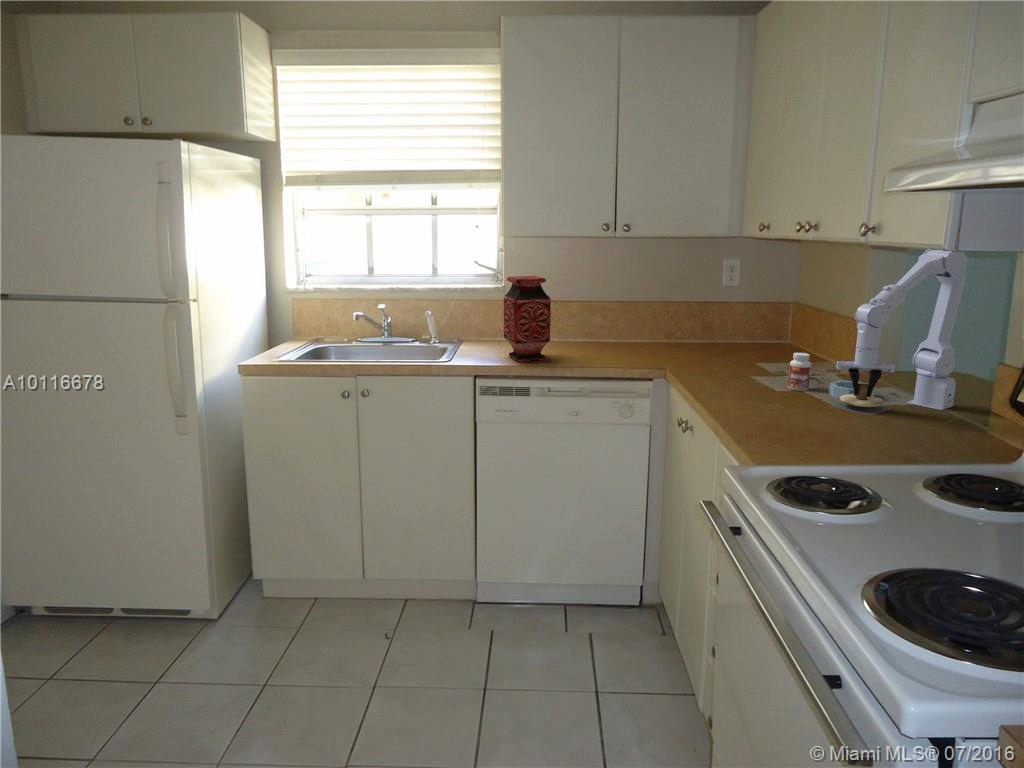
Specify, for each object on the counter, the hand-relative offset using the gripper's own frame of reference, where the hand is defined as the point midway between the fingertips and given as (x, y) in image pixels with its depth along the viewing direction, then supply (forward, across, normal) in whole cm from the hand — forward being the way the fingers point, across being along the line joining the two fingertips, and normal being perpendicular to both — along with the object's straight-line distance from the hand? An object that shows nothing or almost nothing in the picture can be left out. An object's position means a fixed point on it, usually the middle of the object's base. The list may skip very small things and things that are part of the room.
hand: (862, 395), depth 207 cm
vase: (+4, +109, -38) cm, 116 cm away
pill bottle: (+4, +16, -20) cm, 25 cm away
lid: (+2, 0, 0) cm, 2 cm away
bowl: (+4, +1, -14) cm, 15 cm away
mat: (+4, 0, 0) cm, 4 cm away
